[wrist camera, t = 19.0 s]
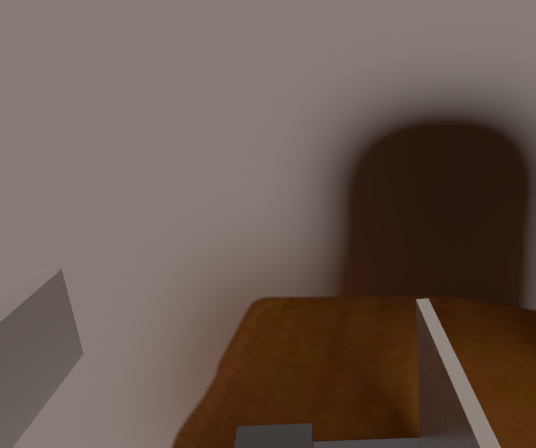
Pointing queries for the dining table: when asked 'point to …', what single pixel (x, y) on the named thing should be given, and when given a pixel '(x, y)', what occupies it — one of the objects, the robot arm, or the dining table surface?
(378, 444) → the l-shaped metal bracket
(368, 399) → the dining table surface
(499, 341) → the dining table surface
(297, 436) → the lever
